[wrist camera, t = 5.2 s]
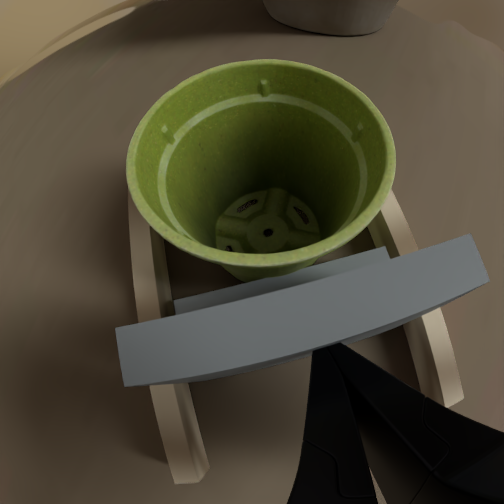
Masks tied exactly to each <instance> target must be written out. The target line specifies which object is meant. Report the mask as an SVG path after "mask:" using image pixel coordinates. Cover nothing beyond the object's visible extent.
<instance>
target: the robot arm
mask: <svg viewBox="0 0 504 504" xmlns="http://www.w3.org/2000/svg"><path fill="white" fill-rule="evenodd" d="M369 467H370V469H371V471H372V473H373V476H374V478H375V480H376V482H377V484H378V486H379V488H380V490H381V492H382V494H383V496H384V498H385V500H386V503H387V504H504V432H501V431H498V430H496V429H493V428H491V427H488V426H486V425H484V424H481V423H479V422H476V421H474V420H472V419H469V418H467V417H465V416H463V415H460V414H458V413H456V412H454V411H452V410H450V409H448V408H446V407H445V406H443V405H441V404H439V403H437V402H436V401H434V400H432V399H431V398H429V397H425V395H424V394H422V393H421V392H419V391H417V390H416V389H414V388H413V387H411V386H409V385H408V384H406V383H404V382H403V381H401V380H400V379H398V378H396V377H395V376H393V375H392V374H390V373H388V372H387V371H385V370H384V369H382V368H380V367H379V366H377V365H376V364H374V363H372V362H371V361H369V360H368V359H366V358H365V357H363V356H361V355H360V354H358V353H357V352H355V351H354V350H352V349H350V348H349V347H347V346H346V345H344V344H343V343H341V342H340V343H336V344H333V345H330V346H327V347H323V348H320V349H316V350H313V351H312V362H311V373H310V383H309V393H308V402H307V411H306V420H305V428H304V436H303V442H302V449H301V456H300V461H299V466H298V471H297V474H296V478H295V481H294V484H293V488H292V491H291V493H290V496H289V499H288V502H287V504H378V501H377V498H376V493H375V489H374V485H373V481H372V477H371V473H370V469H369Z"/></svg>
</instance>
